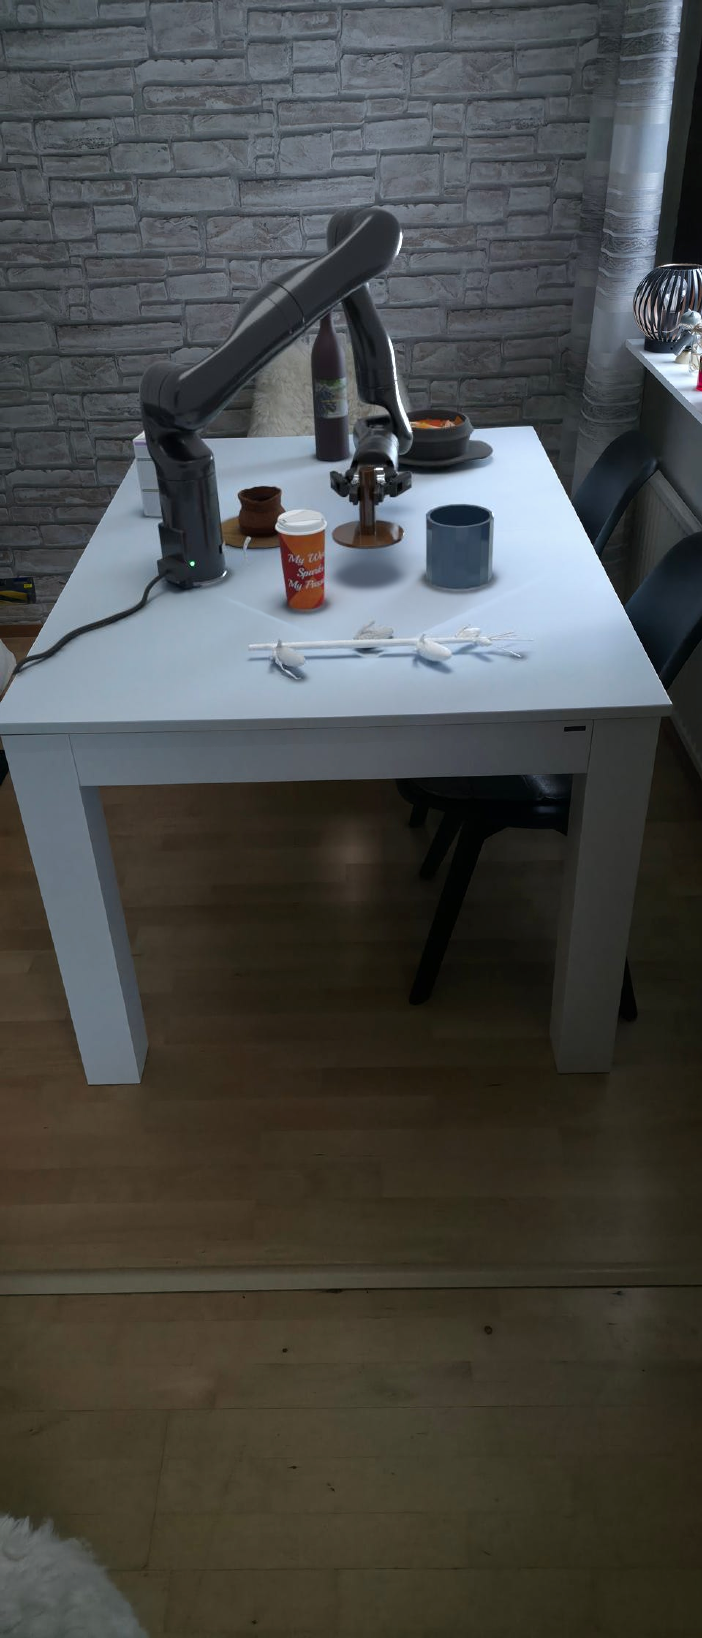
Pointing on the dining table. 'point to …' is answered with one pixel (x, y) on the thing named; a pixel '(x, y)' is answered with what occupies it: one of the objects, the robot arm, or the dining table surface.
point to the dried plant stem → (377, 642)
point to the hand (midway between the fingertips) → (365, 499)
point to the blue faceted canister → (459, 546)
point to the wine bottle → (329, 393)
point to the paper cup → (303, 557)
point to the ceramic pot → (255, 518)
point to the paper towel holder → (367, 520)
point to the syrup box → (147, 477)
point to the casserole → (442, 440)
